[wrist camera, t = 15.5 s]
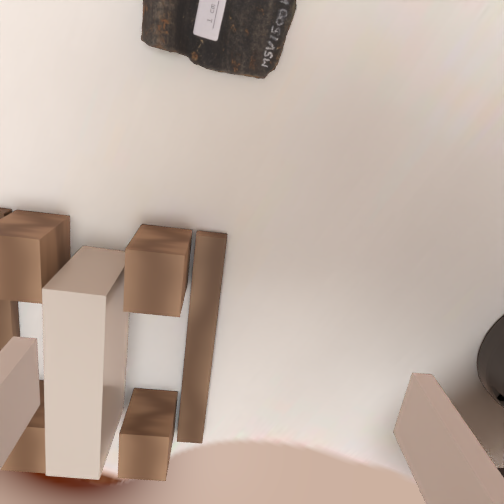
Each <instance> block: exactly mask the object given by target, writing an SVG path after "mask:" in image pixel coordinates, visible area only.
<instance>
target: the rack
mask: <svg viewBox="0 0 504 504" xmlns="http://www.w3.org/2000/svg"><path fill="white" fill-rule="evenodd" d="M191 239H192V230H188V229H179V228H171V227H162V226H153V225H144V224H142V225H141V226H140V228H139V229H138V231H137V232H136V234H135V235H134V237H133V238H132V240H131V241H130V243H129V244H128V246H127V247H126V249H125V271H124V303H123V312H133V313H143V314H153V315H163V316H174V317H180V313H181V309H182V305H183V301H184V296H185V292H186V288H187V283H188V272H189V261H190V250H191ZM226 241H227V234H223V233H214V232H205V231H197V234H196V241H195V252H194V263H193V273H192V284H191V295H190V305H189V316H188V327H187V338H186V348H185V359H184V370H183V380H182V391H181V402H180V413H179V423H178V434H177V442H190V443H202V440H203V432H204V423H205V415H206V407H207V399H208V390H209V382H210V374H211V365H212V357H213V349H214V340H215V332H216V324H217V316H218V307H219V299H220V291H221V282H222V274H223V266H224V257H225V249H226ZM69 260H70V216H66V215H58V214H49V213H40V212H32V211H23V210H16V211H14V212H12V209H5V208H0V351H1V350H2V349H3V347H4V346H5V345H6V344H7V343H8V342H9V341H10V339H11V338H12V337H13V336H15V337H20V330H19V315H18V301H20V302H30V303H41V304H42V288H43V287H44V286H45V285H46V284H47V283H48V282H49V281H50V280H51V279H52V278H53V277H54V275H55V274H56V273H57V272H58V271H59V270H60V269H61V268H62V267H63V266H64V265H65V264H66V263H67V262H68V261H69ZM39 389H40V406H39V407H38V409H37V411H36V412H35V414H34V415H33V417H32V419H31V420H30V422H29V424H28V425H27V427H26V429H25V430H24V432H23V433H22V435H21V437H20V438H19V440H18V442H17V443H16V445H15V447H14V448H13V450H12V451H11V453H10V455H9V456H8V458H7V460H6V461H5V463H4V465H3V466H2V468H1V469H0V470H5V471H22V472H37V473H46V455H45V407H44V381H43V380H39ZM177 395H178V392H176V391H164V390H152V389H139V388H134V391H133V394H132V397H131V400H130V403H129V406H128V409H127V412H126V415H125V418H124V421H123V424H122V427H121V430H120V433H119V460H118V478H127V479H143V480H159V481H166V476H167V470H168V464H169V459H170V453H171V447H172V442H173V436H174V428H175V417H176V406H177Z"/></svg>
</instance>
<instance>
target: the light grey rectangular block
mask: <svg viewBox="0 0 504 504" xmlns="http://www.w3.org/2000/svg"><path fill="white" fill-rule="evenodd" d="M124 271H125V251H121V250H113V249H105V248H97V247H89V246H82V247H81V248H80V249H79V250H78V251H77V252H76V253H75V255H74V256H73V257H72V258H71V259H70V260H69V261H68V262H67V263H66V264H65V265H64V266H63V267H62V268H61V269H60V270H59V271H58V272H57V273H56V274H55V275H54V277H53V278H52V279H51V280H50V281H49V282H48V283H47V284H46V285H45V286H44V287H43V288H42V311H43V359H44V407H45V455H46V475H47V476H59V477H72V478H85V479H97V480H99V479H100V476H101V473H102V470H103V467H104V464H105V461H106V458H107V456H108V453H109V450H110V447H111V444H112V441H113V438H114V435H115V432H116V429H117V426H118V424H119V421H120V418H121V415H122V412H123V409H124V395H125V379H126V362H127V345H128V328H129V312H123V303H124Z"/></svg>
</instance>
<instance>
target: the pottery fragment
mask: <svg viewBox="0 0 504 504" xmlns="http://www.w3.org/2000/svg"><path fill="white" fill-rule="evenodd" d="M295 10H296V0H143V22H142V35H141V40H142V41H144V42H145V43H146V44H147V45H149V46H152V47H156V48H159V49H163V50H166V51H169V52H177V53H179V54H183V55H186V56H187V57H189V59H190V60H191V61H192V62H193V63H194V64H198V65H200V66H202V67H205V68H206V69H211V70H215V71H218V72H226V73H230V74H238V75H245V76H249V77H256V78H265V77H266V76H267V74H268V73H269V72H271V71H272V70H274V69H275V67H276V65H277V64H278V61H279V58H280V56H281V52H282V50H283V45H284V42H285V39H286V35H287V32H288V30H289V27H290V25H291V22H292V19H293V16H294V13H295Z"/></svg>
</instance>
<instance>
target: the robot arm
mask: <svg viewBox="0 0 504 504" xmlns="http://www.w3.org/2000/svg"><path fill="white" fill-rule="evenodd" d="M477 364H478V374H479V377H480V380H481V382H482V384H483V386H484V387H485V388H486V390H487V391H488V392H489V393H490V394H491V396H492V397H493V398H494V399H495V400H496V401H497V402H498V403H499V404H500V405H501V406H502V407H504V316H503V317H502V318H501V319H500V320H499V321H498V322H497V323H496V324H495V325H494V326H493V327H492V329H491V330H490V331H489V333H488V334H487V336H486V337H485V339H484V341H483V343H482V345H481V348H480V351H479V355H478V363H477ZM39 406H40V389H39V369H38V349H37V338H26V337H15V336H13V337H12V338H11V339H10V341H9V342H8V343H7V344H6V345H5V346H4V347H3V349H2V350H1V351H0V469H1V468H2V466H3V465H4V463H5V461H6V460H7V458H8V456H9V455H10V453H11V451H12V450H13V448H14V447H15V445H16V443H17V442H18V440H19V438H20V437H21V435H22V433H23V432H24V430H25V429H26V427H27V425H28V424H29V422H30V420H31V419H32V417H33V415H34V414H35V412H36V411H37V409H38V407H39ZM393 433H394V435H395V437H396V439H397V442H398V444H399V446H400V448H401V450H402V452H403V455H404V457H405V459H406V461H407V463H408V465H409V468H410V470H411V472H412V474H413V476H414V478H415V481H416V483H417V485H418V487H419V489H420V492H421V494H422V496H423V498H424V500H425V502H426V504H504V468H497V467H496V466H495V465H494V463H493V462H492V460H491V459H490V457H489V456H488V454H487V453H486V451H485V450H484V449H483V447H482V446H481V444H480V443H479V441H478V440H477V438H476V437H475V436H474V434H473V433H472V431H471V430H470V428H469V427H468V425H467V424H466V422H465V421H464V420H463V418H462V417H461V415H460V414H459V412H458V411H457V409H456V408H455V407H454V405H453V404H452V402H451V401H450V399H449V398H448V396H447V395H446V393H445V392H444V391H443V389H442V388H441V386H440V385H439V383H438V382H437V380H436V379H435V378H434V376H433V375H432V374H421V373H412V375H411V378H410V381H409V384H408V387H407V390H406V393H405V397H404V400H403V403H402V406H401V409H400V412H399V415H398V418H397V422H396V425H395V428H394V431H393Z"/></svg>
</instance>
